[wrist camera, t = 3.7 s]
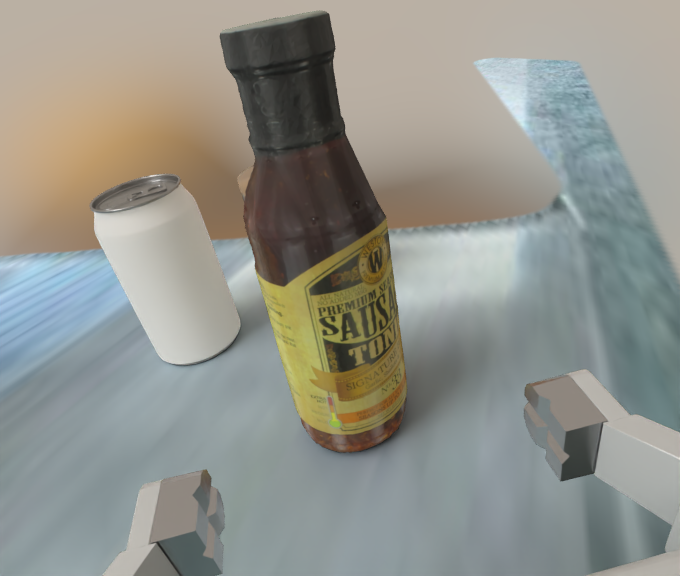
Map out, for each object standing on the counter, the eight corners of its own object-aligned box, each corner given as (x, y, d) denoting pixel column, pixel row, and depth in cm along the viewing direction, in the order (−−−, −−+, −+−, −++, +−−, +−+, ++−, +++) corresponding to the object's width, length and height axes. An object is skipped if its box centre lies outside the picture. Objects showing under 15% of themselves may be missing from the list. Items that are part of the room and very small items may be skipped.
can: (154, 333, 38) (83, 192, 32) (232, 303, 40) (179, 163, 33) (163, 381, 33) (79, 225, 26) (252, 344, 34) (194, 188, 28)
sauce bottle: (366, 480, 24) (253, 31, 13) (279, 428, 27) (137, 49, 17) (434, 394, 27) (390, -8, 17) (350, 359, 31) (270, 14, 20)
